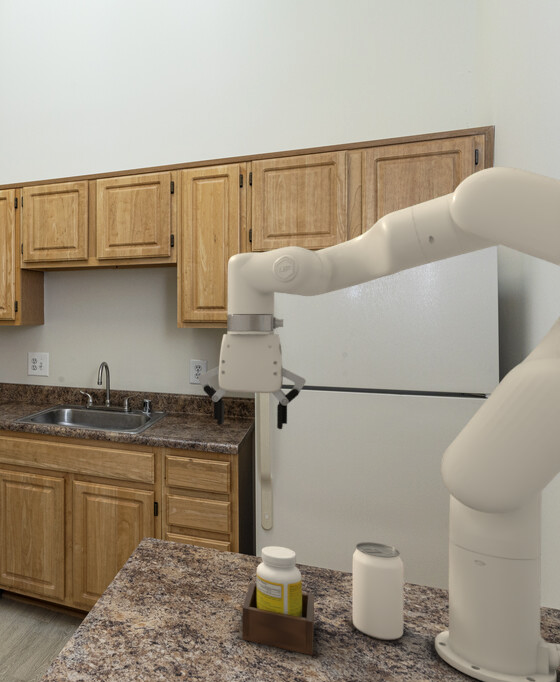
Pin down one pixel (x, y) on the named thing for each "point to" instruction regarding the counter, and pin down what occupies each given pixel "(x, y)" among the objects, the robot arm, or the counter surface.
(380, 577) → the can
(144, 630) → the counter surface
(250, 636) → the box
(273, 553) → the pill bottle
